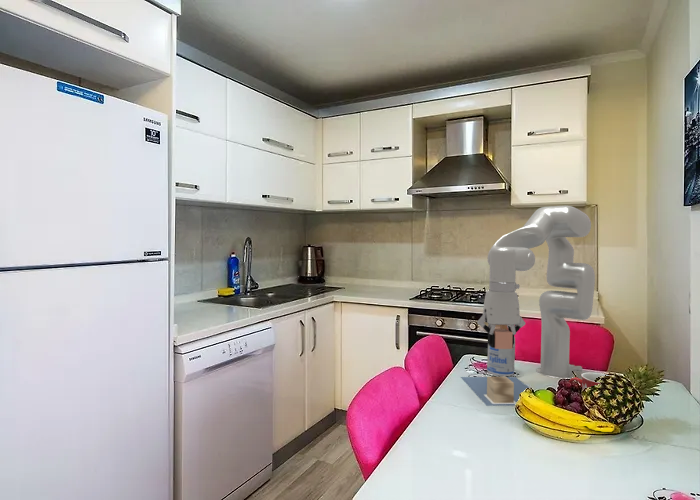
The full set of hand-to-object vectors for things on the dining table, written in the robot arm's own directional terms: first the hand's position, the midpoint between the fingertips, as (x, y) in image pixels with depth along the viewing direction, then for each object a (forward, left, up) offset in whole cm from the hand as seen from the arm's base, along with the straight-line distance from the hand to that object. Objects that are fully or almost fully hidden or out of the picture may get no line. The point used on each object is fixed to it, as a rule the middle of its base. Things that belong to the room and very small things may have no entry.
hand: (500, 346), depth 129 cm
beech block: (0, 0, -17) cm, 17 cm away
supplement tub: (-11, -27, -18) cm, 34 cm away
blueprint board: (-4, -8, -18) cm, 20 cm away
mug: (-19, +16, -18) cm, 31 cm away
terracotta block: (0, 0, 0) cm, 0 cm away
